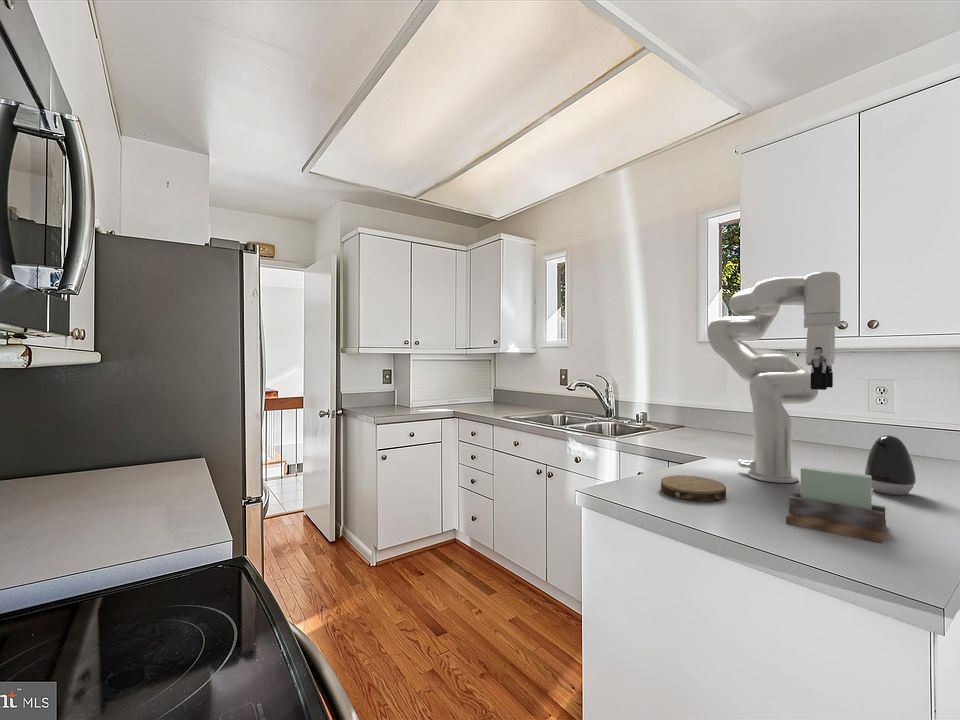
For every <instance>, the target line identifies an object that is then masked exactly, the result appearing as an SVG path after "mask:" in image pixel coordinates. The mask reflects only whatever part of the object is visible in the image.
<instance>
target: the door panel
mask: <svg viewBox="0 0 960 720" xmlns="http://www.w3.org/2000/svg"><path fill="white" fill-rule="evenodd" d="M872 490H873V488H872V476H870V475H865V474H864V473H863V474H862V473H855V472H854V473H853V472H846V471H839V470H832V469H825V468H816V467H810V466H809V467H808V466H801V468H800V493H801V498H805V499H810V500H816V501H822V502H828V503H833V504H839V505H845V506H850V507H856V508H862V509H868V510H872V505H873V504H872V501H873V499H872V496H873V495H872V494H873V493H872Z"/></svg>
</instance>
